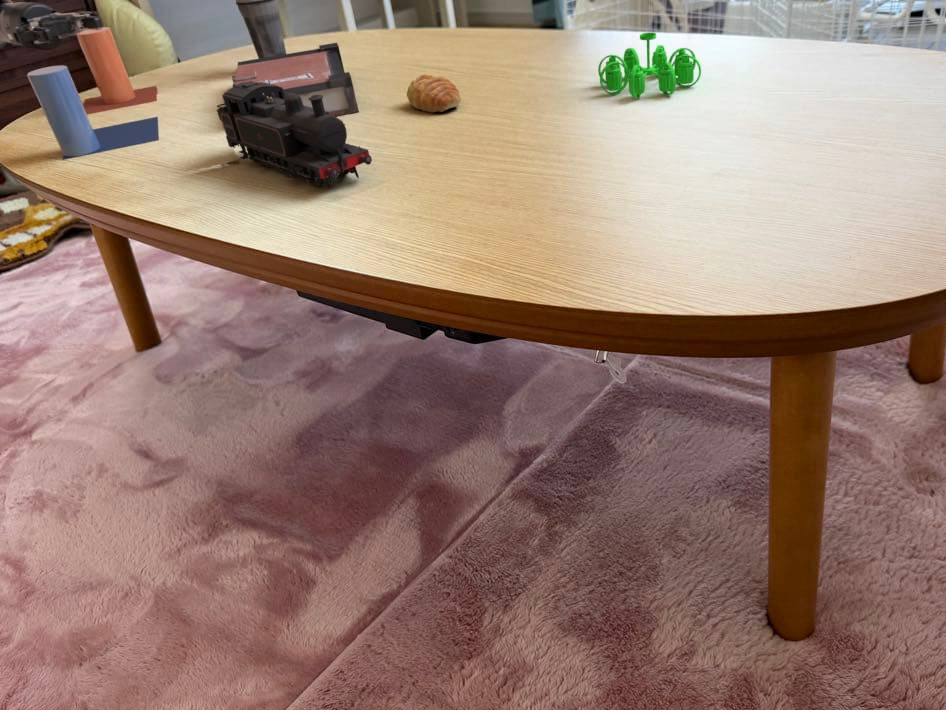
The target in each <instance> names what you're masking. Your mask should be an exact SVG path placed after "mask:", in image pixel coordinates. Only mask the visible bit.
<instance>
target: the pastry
mask: <svg viewBox="0 0 946 710" xmlns="http://www.w3.org/2000/svg"><path fill="white" fill-rule="evenodd" d="M406 98H407V100H408V102H409V104H410V105H411V106H413V107H414V108H415V109H417V110H421V111H424V112H427V113H432V114H433V113H436V112H440V113H441V112H444V111H447V110H449V109H451V108H456V107H459V106H460V103H461V102H462V97H461V95H460V91H459V89H458V88H457V86H456V85H455V84H454V83H452V81H451V80H450V79H449V78H445V77H444V76H435V75H432V74H427V73H426V74H420V75H419V76H417V77H416V78H415V79H413V80H411V83H410V84H409V85H408V87H407V91H406Z"/></svg>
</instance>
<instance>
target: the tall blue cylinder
mask: <svg viewBox="0 0 946 710" xmlns="http://www.w3.org/2000/svg"><path fill="white" fill-rule="evenodd" d="M26 76H27V79H28V80H29V83H30V85H31V87H32V89H33V91H34V94H35V96H36V98H37V100H38V102H39V103H38V104H39V105H40V107H41V109H42V111H43V114H44V116H45V118H46V120H47V123H48V124H49V127H50V129H51V131H52V133H53V136H54V138H55V140H56V143H57V145H58V146H59V147H58V148H59V149H60V152H61V153H62V155H63V156H65V157H75V158H78V157H77V156H80V157H83V156H82V155H85V156H87V155H86V154H90V153H92V152H95V151H97V150H98V149H100V144H99V142H98V139H97V137H96V134H95V132H94V130H93V129H94V128H93V125H92V123H91V121H90V118H89V114H87V113H86V111H85V108H84V106H83V105H84V103H83V101H82V99H81V97H80V94H79V92H78V89H77V87H76V85H75V82H74V80H73V78H72V76H71V73H70V71H69V67H68V66H67V65H52V66H47V67H42V68H38V69H34V70H31V71H30V72H28V73H27V74H26ZM90 155H91V154H90Z"/></svg>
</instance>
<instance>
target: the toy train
mask: <svg viewBox="0 0 946 710" xmlns="http://www.w3.org/2000/svg"><path fill="white" fill-rule="evenodd" d="M272 92H274V95H275V97H272V95H271V93H272ZM322 98H323V96H322V95H313V96H311V97H310V98H309V99H308V100H310V101H311V104H312V107H313V108H312V107H308V106H304V105H303V102H302V100H301V97H300V96H299V95H297V94H295V93H289V94H287V96H286V97H285V96H284V92H283V88H282V87H279V86H276V85H272V84H268V83H263V82H252V81H250V82H241V83H239V84H237V85H235V86H233V85H232V87H230V88H229V89H228V90H227V91H225V92H224V93H223V94H222V99H223V102H224V103H220V104H217V105H216V107H217V109H216V112H217V115H218V118H219V120H220V122H221V123H222V127H223V129H224V133H225V138H226V141H227V144H228V147H230V148H234V147H236V146H240V149H241V150H240V151H238V153H240V154H242V156H240V157H239V159H241V160H248V159H249V160H251V161H252V162H254V163H255V165H257V166H258V167H262V166H263V167H266V166H268V167H270V168H273V169H276V170H278V171H280V172H281V173H282V174H283V176H286V177H291V178H293V179H294V178H297V177H298V178H300V179H303V180H306V181H307V182H308V183H309V184H310V186H313V187H316V186H318V187H320V186H324V185H326V181H325V179H326V178H327V179H328V183H329V186H330V189H333V182H332V177H333V178H335V179H336V178H337V177H338V176H339V175H340V176H343V177H345V176H347V175H349V174H354V175H355V177H356V178H357V179H360V176H359V173H358V170H357V166H360V165H362V164H366V165H368V166H369V165H371V163H372V161H373V159H372V156H371V155H370V152H369V149H367V148H364V147H361V146H360V145H359V146H357V145H353V144H350V143H346V141H347V138H348V132H347V127H346V123H344V121H343V120H342V119H340V118H338V116H331V115H329V113H328V112H327V111H325V109H324V105H323V101H322ZM269 159H272V160H273V161H270V160H269ZM274 161H275V162H274ZM297 169H301V171H298V170H297Z"/></svg>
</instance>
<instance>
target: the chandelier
mask: <svg viewBox="0 0 946 710" xmlns="http://www.w3.org/2000/svg"><path fill="white" fill-rule="evenodd" d="M655 39H657V33H656V32H643V33H641V34H640V35H639V40H641V41H646V63H647V64H646V67H643V66H642V65H641V64H640V58H639V55H638V52H637V50H635V48H633V47H629V48H625V50H624V53H623V58H622V57H621V56H620V55H617V54H608V55H606V56H604V57H603V58H602V59H601V60H600V62H599V64H598V68H597V71H598V76H599V84H600V87H601V89H602V90H603V91H604V92H605V93H607V94H608V95H618V94H620V93H622V92H623V91H624V90H625V88H626V87H627V86H628V92H629V94H630V95H631V97H632V98H633V99H639V98H640V97H641V95H643V94H645V92H646V77H645V76H654V75H655V77H657V80H658V90H659V91H660V92H662V94H663V95H664V96H666V97H667V96H672V95H674V93H675V91H676V88H677V86H678V87H680V88H684V89H685V88H687V89H688V88H690V87H693V86H695V84H697V83H698V81H699V80H700V78H701V75H702V66H701V63H700V61H699V60H698V59H697V58H696V55H695V53H694V51H692V50H691V49H690V48H687V47H680V48H678V49H675V51H674V52H672V54H671V55H670V57H669V60H668V55H667V51H666V50H665V49H666V48H665V47H664V45H663V44H658V45H656V47H655V51H653V52H652V57H651V54H650V53H651V51H650V47H651V46H650V41H652V40H655ZM686 51H688V52H689V53H690V54H691V55H690V54H689V53H686ZM606 59H608V60H607V61H605V60H606ZM673 59H674V60H673ZM690 59H691V60H690ZM604 61H605V66H604V67H603V68H602V64H603V62H604ZM696 65H697V68H698V76H697V79H696V80H694V78H695V77H694V76H695V68H696ZM621 67H622V68H623V73H624V76H623V73H622V69H621ZM604 75H605V78H604ZM623 82H624V83H623ZM604 84H605V85H606V88H607V89H606V88H605V86H604Z"/></svg>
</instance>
